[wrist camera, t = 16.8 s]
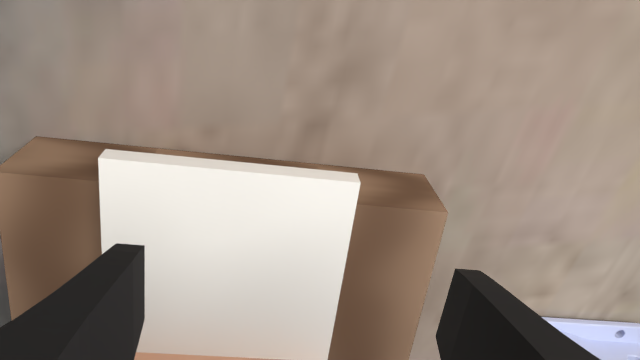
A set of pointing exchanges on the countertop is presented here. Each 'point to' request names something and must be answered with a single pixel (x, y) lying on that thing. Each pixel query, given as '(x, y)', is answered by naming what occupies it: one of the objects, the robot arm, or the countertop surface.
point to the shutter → (231, 253)
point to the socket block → (375, 189)
